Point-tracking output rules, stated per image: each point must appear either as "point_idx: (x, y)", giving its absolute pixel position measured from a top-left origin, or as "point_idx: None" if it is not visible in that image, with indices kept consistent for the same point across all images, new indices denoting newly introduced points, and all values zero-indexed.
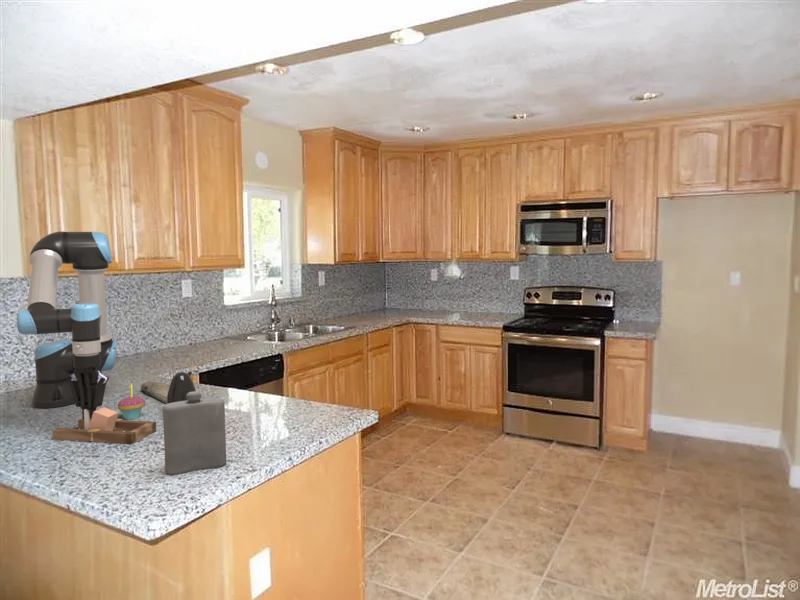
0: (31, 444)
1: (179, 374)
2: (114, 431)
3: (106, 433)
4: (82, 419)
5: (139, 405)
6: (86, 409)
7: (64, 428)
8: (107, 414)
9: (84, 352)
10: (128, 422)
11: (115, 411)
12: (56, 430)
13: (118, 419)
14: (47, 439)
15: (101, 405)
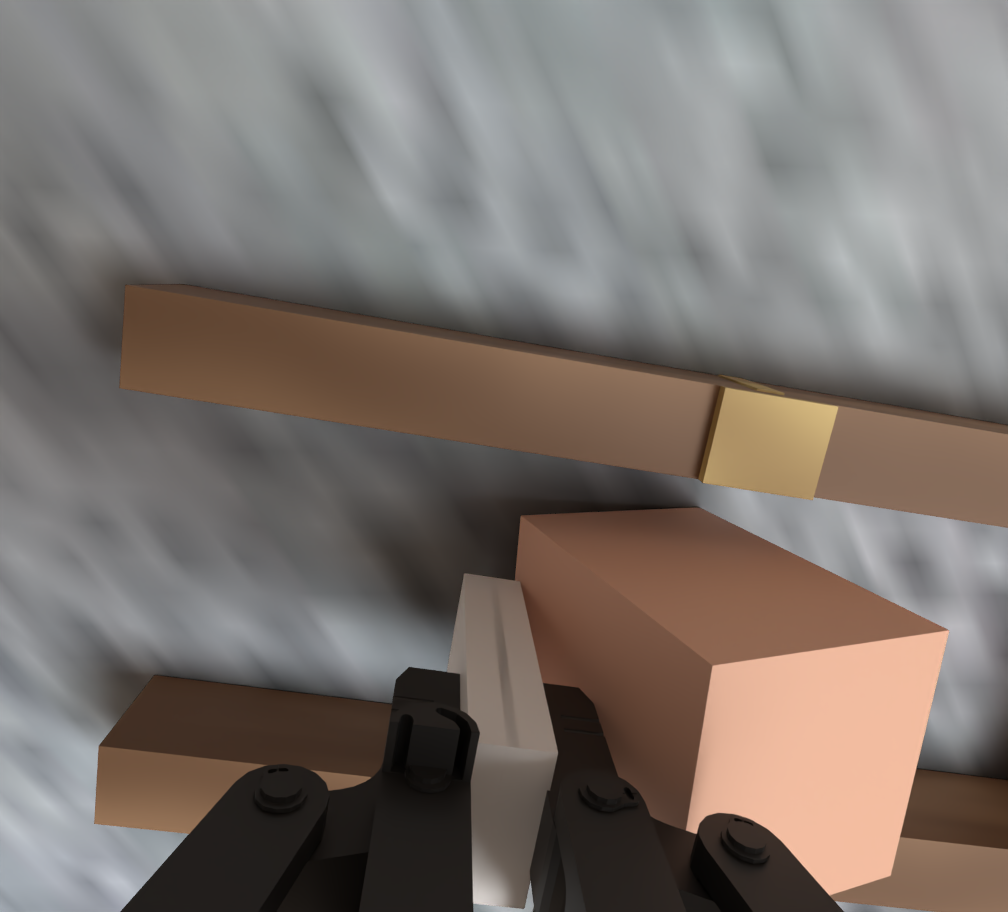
0: (9, 864)
1: None
2: (914, 850)
3: (840, 897)
4: (178, 359)
5: None
6: (478, 879)
7: (204, 762)
8: (852, 824)
9: None
10: (965, 517)
11: (909, 638)
12: (150, 828)
13: (789, 422)
14: (64, 726)
15: (754, 821)
